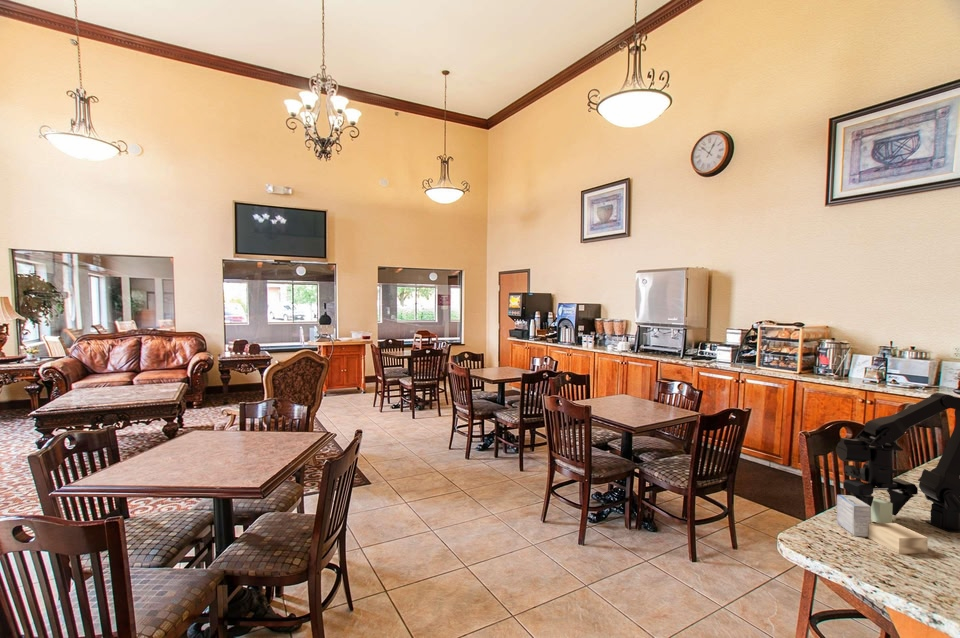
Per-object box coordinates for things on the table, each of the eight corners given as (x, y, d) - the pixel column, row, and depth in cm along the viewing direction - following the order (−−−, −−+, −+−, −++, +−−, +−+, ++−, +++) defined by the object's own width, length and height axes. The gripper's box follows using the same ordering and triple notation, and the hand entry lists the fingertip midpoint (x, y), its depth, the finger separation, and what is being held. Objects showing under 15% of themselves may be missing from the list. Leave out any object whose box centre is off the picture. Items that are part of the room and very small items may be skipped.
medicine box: (871, 538, 119) (872, 506, 119) (853, 536, 120) (853, 505, 120) (853, 524, 127) (853, 495, 127) (836, 523, 128) (836, 494, 128)
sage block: (878, 517, 132) (879, 497, 132) (892, 523, 128) (892, 503, 128) (866, 517, 132) (866, 498, 132) (879, 523, 128) (880, 503, 128)
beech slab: (895, 537, 120) (895, 523, 120) (927, 552, 112) (927, 537, 112) (868, 538, 119) (868, 523, 119) (899, 553, 111) (899, 538, 111)
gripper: (881, 454, 139) (881, 503, 139) (827, 455, 138) (827, 504, 138) (919, 466, 128) (919, 519, 128) (861, 467, 127) (860, 520, 126)
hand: (879, 515), depth 130 cm, fingers open, 9 cm apart
